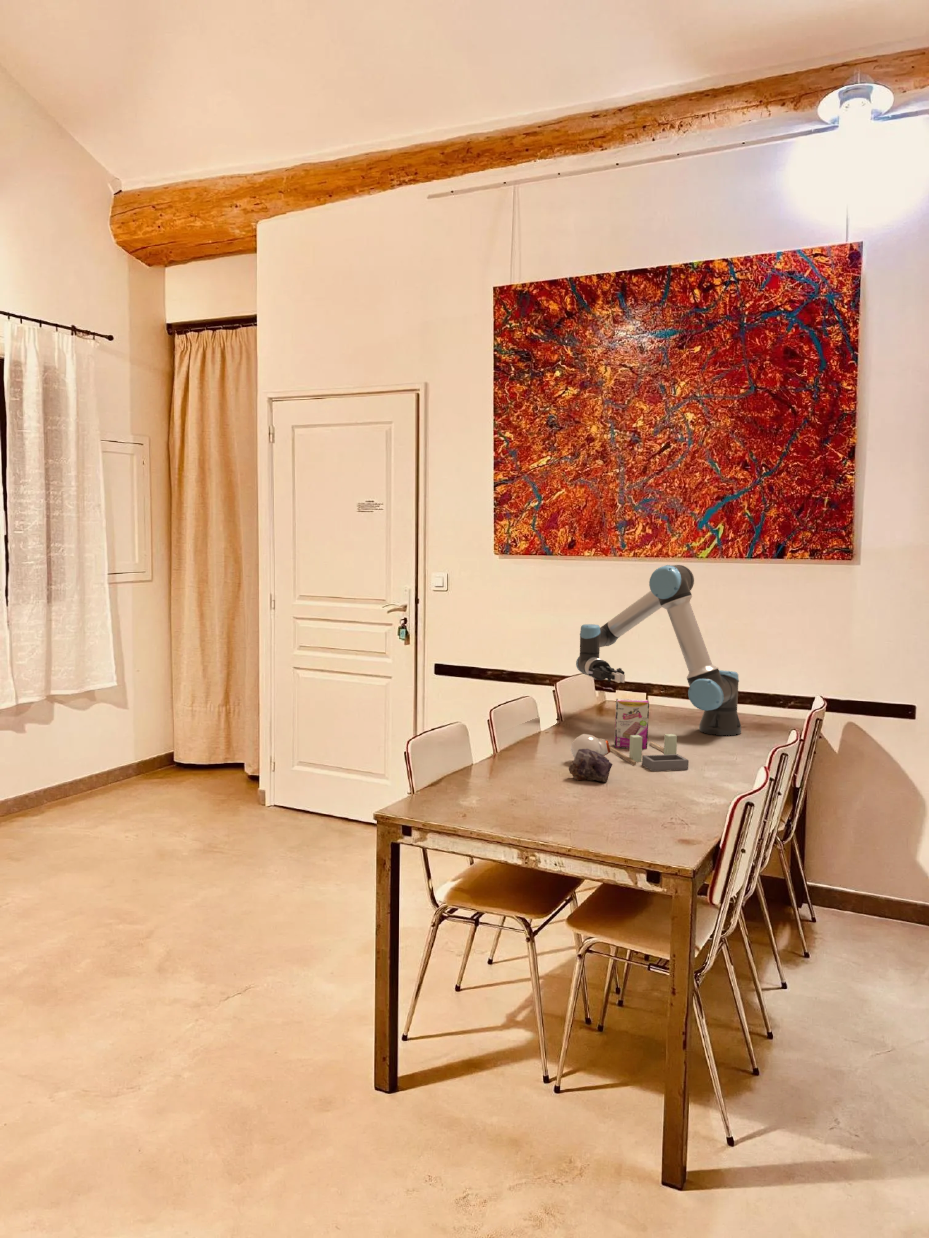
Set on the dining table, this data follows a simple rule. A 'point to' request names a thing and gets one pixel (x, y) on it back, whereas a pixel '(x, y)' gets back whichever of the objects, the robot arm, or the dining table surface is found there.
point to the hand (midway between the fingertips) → (621, 678)
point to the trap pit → (665, 762)
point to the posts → (636, 746)
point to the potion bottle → (590, 744)
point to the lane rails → (630, 758)
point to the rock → (590, 766)
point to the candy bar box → (631, 721)
